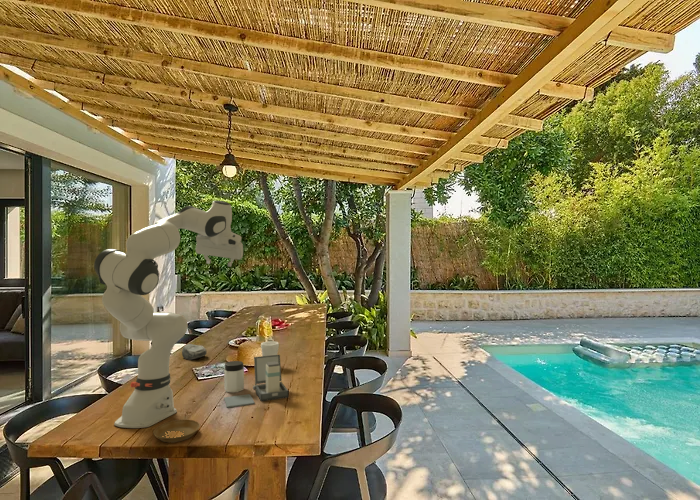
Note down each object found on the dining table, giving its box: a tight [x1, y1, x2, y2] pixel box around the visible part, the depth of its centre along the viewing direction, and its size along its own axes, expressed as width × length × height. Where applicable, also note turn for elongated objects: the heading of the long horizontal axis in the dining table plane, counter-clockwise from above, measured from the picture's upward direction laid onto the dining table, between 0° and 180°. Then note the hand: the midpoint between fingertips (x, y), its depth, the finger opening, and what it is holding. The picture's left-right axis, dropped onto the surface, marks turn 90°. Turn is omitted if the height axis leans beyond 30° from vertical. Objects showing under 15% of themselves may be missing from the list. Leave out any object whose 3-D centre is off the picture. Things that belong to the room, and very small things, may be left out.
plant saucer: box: [153, 419, 201, 443], centre depth 142 cm, size 15×15×3 cm
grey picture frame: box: [253, 354, 282, 385], centre depth 189 cm, size 12×12×1 cm
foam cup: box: [260, 341, 280, 356], centre depth 225 cm, size 10×9×13 cm
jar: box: [223, 360, 245, 393], centre depth 189 cm, size 9×8×12 cm
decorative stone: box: [181, 343, 208, 361], centre depth 244 cm, size 15×14×10 cm
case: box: [252, 381, 290, 402], centre depth 184 cm, size 19×12×9 cm, turn 23°
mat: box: [223, 393, 256, 409], centre depth 174 cm, size 11×11×1 cm
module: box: [265, 361, 281, 393], centre depth 180 cm, size 5×5×13 cm
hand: (219, 264), depth 186 cm, fingers open, 8 cm apart
